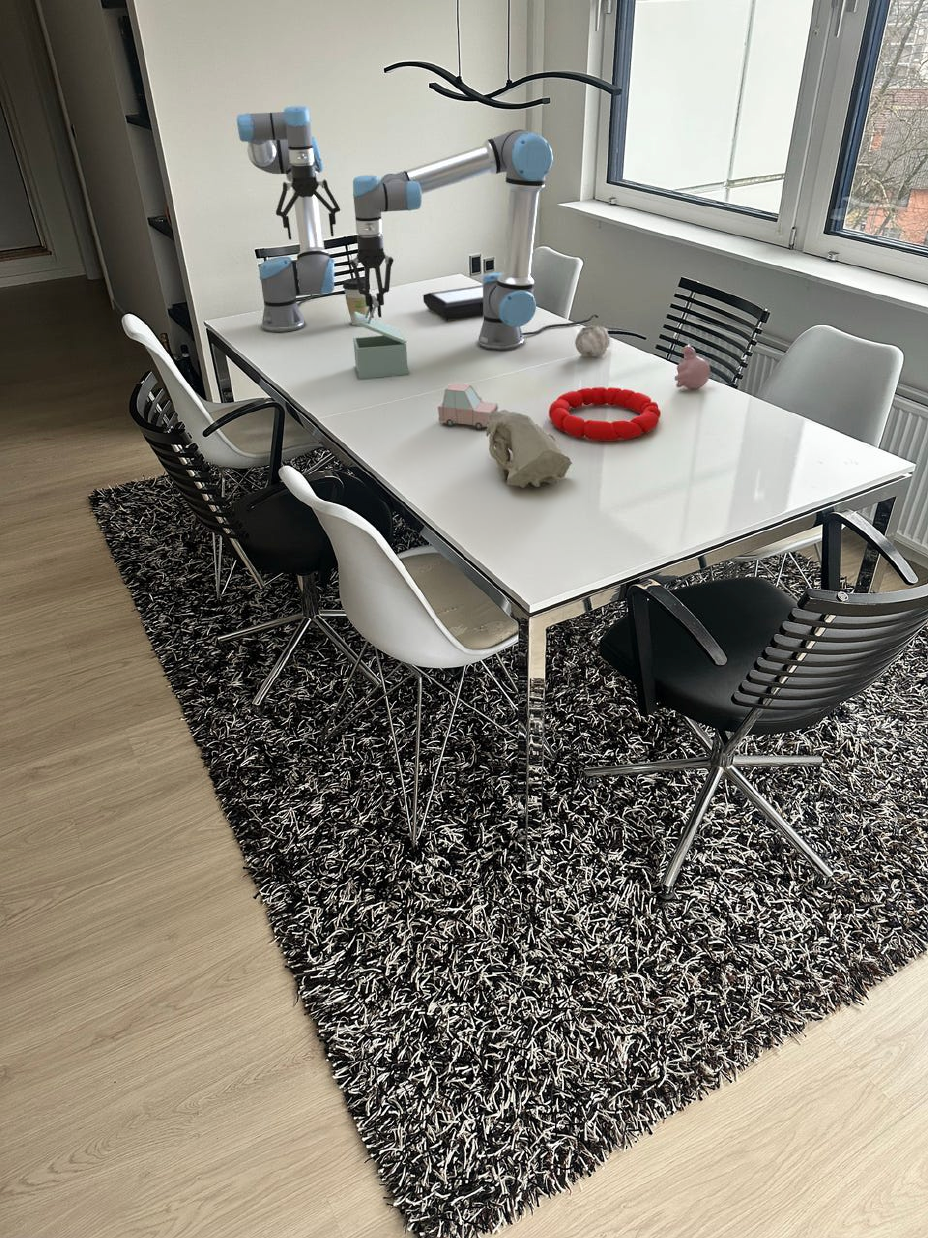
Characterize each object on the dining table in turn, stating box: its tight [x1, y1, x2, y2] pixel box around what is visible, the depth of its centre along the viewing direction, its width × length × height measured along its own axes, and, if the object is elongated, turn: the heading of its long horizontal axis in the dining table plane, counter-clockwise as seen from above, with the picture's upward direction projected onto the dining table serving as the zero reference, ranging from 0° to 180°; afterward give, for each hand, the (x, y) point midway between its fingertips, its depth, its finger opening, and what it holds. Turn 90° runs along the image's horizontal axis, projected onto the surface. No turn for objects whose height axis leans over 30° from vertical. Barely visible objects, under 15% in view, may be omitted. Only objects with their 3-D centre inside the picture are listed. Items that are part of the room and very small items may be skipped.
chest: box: [352, 334, 409, 380], centre depth 281 cm, size 15×12×9 cm
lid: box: [354, 295, 407, 345], centre depth 275 cm, size 16×12×8 cm
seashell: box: [574, 324, 611, 358], centre depth 286 cm, size 10×15×10 cm
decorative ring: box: [548, 386, 661, 442], centre depth 242 cm, size 7×30×30 cm
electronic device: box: [422, 284, 483, 322], centre depth 335 cm, size 32×6×20 cm
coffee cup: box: [342, 277, 370, 327], centre depth 323 cm, size 10×10×15 cm
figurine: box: [674, 344, 711, 390], centre depth 259 cm, size 9×11×12 cm
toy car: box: [437, 382, 499, 431], centre depth 243 cm, size 9×15×10 cm, turn 70°
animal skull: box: [485, 409, 573, 489], centre depth 216 cm, size 17×25×20 cm
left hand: (311, 237), depth 288 cm, fingers open, 13 cm apart
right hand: (375, 316), depth 274 cm, fingers closed on lid, 2 cm apart
